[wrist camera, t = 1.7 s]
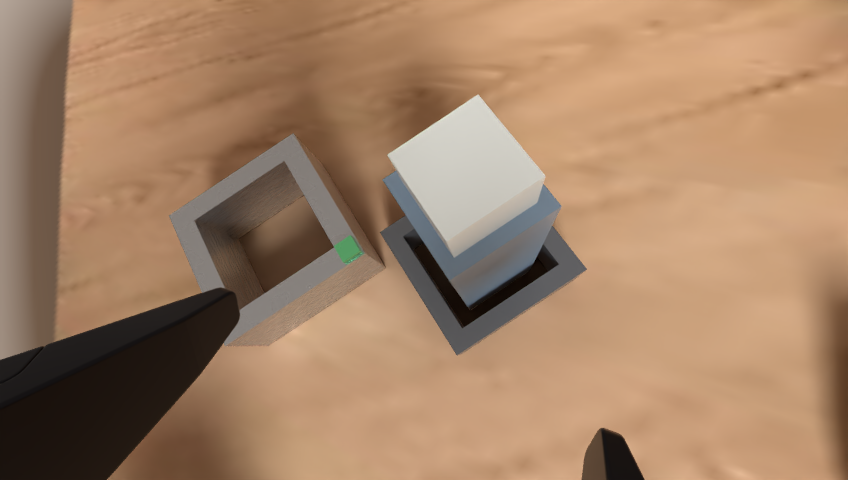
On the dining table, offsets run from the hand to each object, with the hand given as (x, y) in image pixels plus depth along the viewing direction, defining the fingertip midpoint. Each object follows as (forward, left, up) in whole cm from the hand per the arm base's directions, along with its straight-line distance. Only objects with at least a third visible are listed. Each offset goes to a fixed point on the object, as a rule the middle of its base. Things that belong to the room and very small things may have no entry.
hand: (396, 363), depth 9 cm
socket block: (-5, +10, -13) cm, 18 cm away
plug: (+4, +3, -13) cm, 14 cm away
